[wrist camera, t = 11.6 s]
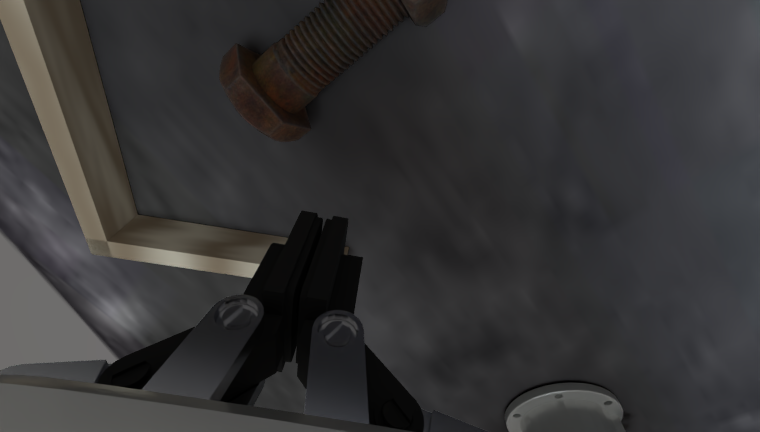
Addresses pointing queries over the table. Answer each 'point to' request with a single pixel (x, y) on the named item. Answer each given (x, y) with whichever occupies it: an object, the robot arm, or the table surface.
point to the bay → (106, 149)
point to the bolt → (311, 60)
